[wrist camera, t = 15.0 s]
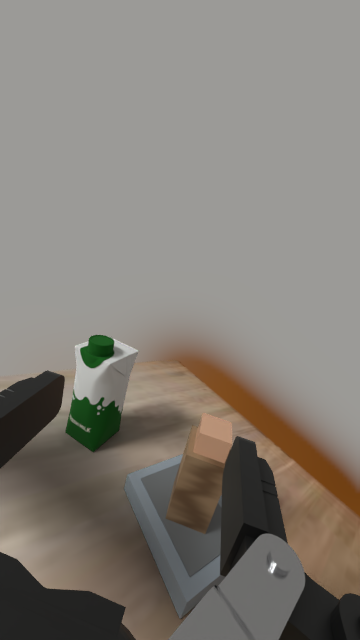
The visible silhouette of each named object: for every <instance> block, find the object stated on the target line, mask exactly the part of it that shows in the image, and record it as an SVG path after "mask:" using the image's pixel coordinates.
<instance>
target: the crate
mask: <svg viewBox="0 0 360 640" xmlns="http://www.w3.org/2000/svg"><path fill="white" fill-rule="evenodd" d="M197 429H198V427H196V426H193V425H192V428H191V431H190V434H189V437H188V441H187V444H186V447H185V450H184V453H183V456H182V459H181V462H180V465H179V469H178V472H177V475H176V478H175V481H174V485H173V489H172V493H171V497H170V501H169V505H168V510H167V514H166V518H165V519H168V520H170V521H173V522H175V523H178V524H180V525H183V526H185V527H188V528H191V529H193V530H196V531H198V532H201V533H203V534H205V533H206V531H207V528H208V526H209V523H210V521H211V518H212V516H213V514H214V511H215V509H216V506H217V504H218V501H219V499H220V496H221V494H222V477H223V471H224V467H225V464H226V461H227V459H226V461H225V463H222V462H219V461H216V460H214V459H211V458H208V457H205V456H202V455H200V454H197V453H194V452H193V449H194V444H195V438H196V433H197ZM229 453H230V451H229ZM229 453H228V456H229ZM228 456H227V458H228Z"/></svg>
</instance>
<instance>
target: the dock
mask: <svg viewBox="0 0 360 640" xmlns="http://www.w3.org/2000/svg"><path fill="white" fill-rule="evenodd" d="M182 456H183V454H182V455H179V456H176V457H173V458H171V459H168V460H165V461H163V462H160V463H157V464H154V465H152V466H149V467H146V468H143V469H141V470H138V471H135V472H133V473H130V474H128V475H127V479H126V483H125V487H124V490H125V492H126V495H127V497H128V499H129V502H130V504H131V506H132V509H133V511H134V513H135V516H136V518H137V520H138V523H139V525H140V527H141V530H142V532H143V534H144V537H145V539H146V541H147V544H148V546H149V548H150V551H151V553H152V555H153V558H154V560H155V562H156V565H157V567H158V569H159V572H160V574H161V576H162V579H163V581H164V583H165V586H166V588H167V590H168V593H169V595H170V597H171V600H172V602H173V604H174V607H175V609H176V611H177V614H178V616H179V618H180V619H181V618H182V617H183V616H184V615H185V614H187V613H188V612H189V611H190V610H191V609H193V608H194V607H195V606H196V605H197V604H198V603H199V602H200V601H201V599H202V598H203V597H204V596H205V595H206V593H207V592H208V591H209V590H210V589H211V588H212V587H213V586H215V585H216V586H218V585H219V584H220V583H221V582H222V581H223V580H224V578H225V577H224V576H222V575H220V549H221V508H222V496H220V499H219V501H218V504H217V506H216V509H215V511H214V514H213V516H212V518H211V521H210V523H209V526H208V528H207V531H206V533H205V534H203V533H201V532H198V531H196V530H193V529H191V528H188V527H185V526H183V525H180V524H178V523H175V522H173V521H170V520H168V519H165V518H166V514H167V510H168V505H169V501H170V497H171V493H172V489H173V485H174V481H175V478H176V475H177V472H178V469H179V465H180V462H181V459H182Z"/></svg>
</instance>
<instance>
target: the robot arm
mask: <svg viewBox="0 0 360 640" xmlns="http://www.w3.org/2000/svg"><path fill="white" fill-rule="evenodd" d="M64 381H65V378H64V376H62V375H59V374H56V373H53V372H51V371H45V372H43V373H42V374H40V375H39V376H37V377H36V378H32V377H31V378H28V379H25V380H22V381H18V382H17V383H15V384H13V385H12V386H10V387H8V388H7V390H6V389H5V390H3V391H2V392H0V468H1V467H3V466H4V465H5V464H6V463H7V462H8V461H9V460H10V459H11V458H12V457H13V456H14V455H15V454H16V453H17V452H19V451H20V450H21V449H22V448H23V447H24V446H25V445H26V444H27V443H28V442H29V441H30V440H31V439H32V438H33V437H35V436H36V435H37V434H38V433H39V432H40V431H41V430H42V429H43V428H44V427H45V426H46V425H47V424H48V423H49V422H51V421H52V420H53V419H54V418H55V417H56V415H57V414H58V412H59V410H60V408H61V404H62V397H63V389H64ZM277 496H278V495H277V490H276V487H275V481H274V476H273V472H272V470H271V468H270V467H269V465H268V463H267V462H266V460H265V459H262V458H259V457H257V450H256V444H255V442H253V441H250V440H247V439H244V438H241V437H238V436H237V437H236V438H235V440H234V443H233V446H232V448H231V451H230V453H229V456H228V458H227V461H226V464H225V467H224V471H223V477H222V508H221V549H220V575H222V576H224V577H225V578H224V580H223V581H222V582H221V583H220V584H219V585H218V586H216V585H215V586H213V587H212V588H211V589H210V590H209V591H208V592H207V593H206V595H205V596H204V597H203V598H202V599H201V601H200V602H199V603H198V604H197V605H196V607H195V608H194V609H193V610H192V611H191V613H190V614H189V615H188V616H187V617H186V619H185V620H184V621H183V622H182V624H181V625H180V626H179V627H178V628H177V630H176V631H175V632H174V633H173V634H172V636H171V637H170V638H169V639H168V640H360V596H358V595H356V594H351V593H349V594H345V595H343V597H342V598H341V599H340V600H338V599H337V598H336V597H334V596H333V595H332V594H330V593H329V592H328V591H326V590H325V589H324V588H322V587H321V586H320V585H318V584H317V583H316V582H315V581H313V580H312V579H311V578H310V577H309V576H308V575H307V574H306V573H305V572H304V569H303V567H302V564H301V562H300V560H299V558H298V556H297V555H296V553H295V552H294V550H293V549H292V548H291V547H290V546H289V545H288V543H287V539H286V534H285V529H284V524H283V519H282V514H281V510H280V505H279V500H278V498H277ZM125 608H126V607H124V606H122V605H119V604H117V603H115V602H112V601H110V600H108V599H106V598H103V597H101V596H99V595H97V594H94V593H92V592H90V591H77V590H60V589H47V588H45V587H43V586H42V585H41V584H40V583H39V582H38V581H37V580H36V579H35V578H34V577H33V576H32V575H31V574H30V573H29V571H28V570H27V569H26V568H25V567H24V566H23V565H22V564H21V563H20V562H19V561H18V560H17V559H15V558H13V557H10V556H8V555H6V554H4V553H1V552H0V640H136V639H135V638H134V637H133V635H132V634H131V633H130V631H129V630H128V629H127V628H126V627H125V626H124V625H123V624H122V623H121V622H122V618H123V615H124V611H125Z"/></svg>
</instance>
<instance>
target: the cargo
mask: <svg viewBox="0 0 360 640" xmlns="http://www.w3.org/2000/svg"><path fill="white" fill-rule="evenodd" d="M231 446H232V422H229V421H226V420H223V419H220V418H217V417H214V416H211V415H208V414H205V413H203V414H202V417H201V420H200V423H199V426H198V429H197V433H196V438H195V444H194V449H193V452H194V453H197V454H200V455H202V456H205V457H208V458H211V459H214V460H216V461H219V462H222V463H225V461H226V459H227V456H228V453H229V451H230V448H231Z"/></svg>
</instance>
